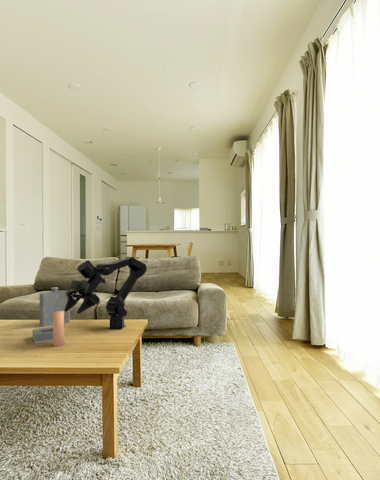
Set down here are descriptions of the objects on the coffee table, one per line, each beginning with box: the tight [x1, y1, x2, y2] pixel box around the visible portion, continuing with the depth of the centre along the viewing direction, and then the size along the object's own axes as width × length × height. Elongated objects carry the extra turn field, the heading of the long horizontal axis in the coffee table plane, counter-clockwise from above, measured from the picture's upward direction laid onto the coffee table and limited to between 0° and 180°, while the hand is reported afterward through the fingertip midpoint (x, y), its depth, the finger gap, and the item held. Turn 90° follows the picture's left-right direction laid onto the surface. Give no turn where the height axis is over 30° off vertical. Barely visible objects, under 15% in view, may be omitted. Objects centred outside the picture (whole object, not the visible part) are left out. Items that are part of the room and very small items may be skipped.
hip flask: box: [39, 286, 71, 328], centre depth 171 cm, size 16×4×20 cm, turn 132°
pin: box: [52, 311, 65, 347], centre depth 133 cm, size 4×4×14 cm
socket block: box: [32, 326, 53, 344], centre depth 143 cm, size 12×12×4 cm
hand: (71, 312), depth 139 cm, fingers open, 9 cm apart
